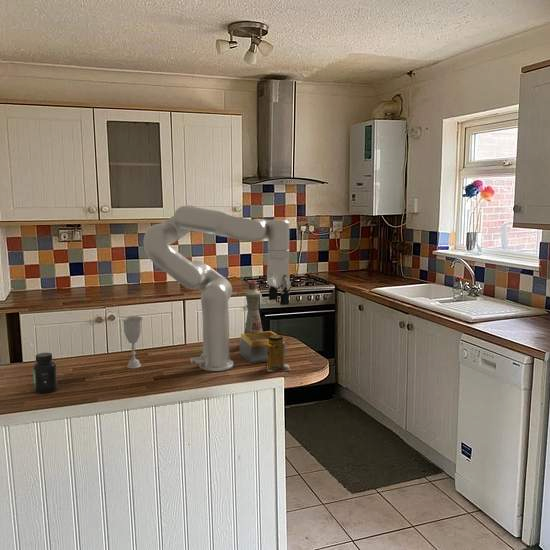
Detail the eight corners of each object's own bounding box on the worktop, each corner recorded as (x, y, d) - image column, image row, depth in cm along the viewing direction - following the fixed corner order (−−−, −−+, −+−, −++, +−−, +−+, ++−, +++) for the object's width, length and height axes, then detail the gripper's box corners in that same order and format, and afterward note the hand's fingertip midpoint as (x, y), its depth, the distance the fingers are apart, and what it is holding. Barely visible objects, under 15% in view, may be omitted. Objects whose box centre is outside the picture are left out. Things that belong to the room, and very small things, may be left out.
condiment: (265, 365, 199) (265, 334, 197) (288, 364, 200) (288, 333, 198) (267, 372, 192) (267, 339, 190) (290, 371, 193) (291, 338, 191)
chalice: (120, 367, 196) (117, 319, 193) (131, 362, 202) (129, 315, 200) (136, 370, 194) (134, 321, 191) (147, 364, 200) (146, 317, 197)
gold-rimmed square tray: (251, 362, 202) (250, 342, 201) (239, 353, 214) (239, 333, 212) (290, 357, 208) (290, 337, 207) (277, 348, 220) (277, 329, 219)
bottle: (253, 342, 230) (252, 277, 226) (268, 346, 224) (268, 279, 220) (238, 346, 224) (238, 280, 219) (254, 350, 218) (254, 282, 213)
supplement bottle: (32, 394, 170) (29, 358, 168) (37, 387, 176) (35, 352, 174) (54, 393, 171) (52, 357, 169) (59, 386, 177) (57, 351, 176)
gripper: (259, 252, 196) (259, 298, 199) (279, 257, 181) (279, 307, 183) (278, 251, 199) (278, 297, 202) (299, 256, 184) (299, 305, 186)
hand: (278, 302), depth 192 cm, fingers open, 9 cm apart
